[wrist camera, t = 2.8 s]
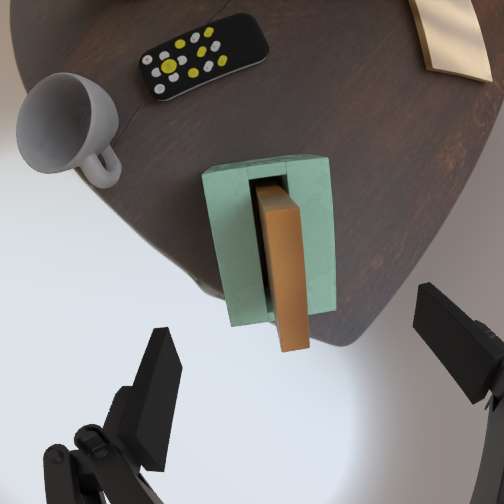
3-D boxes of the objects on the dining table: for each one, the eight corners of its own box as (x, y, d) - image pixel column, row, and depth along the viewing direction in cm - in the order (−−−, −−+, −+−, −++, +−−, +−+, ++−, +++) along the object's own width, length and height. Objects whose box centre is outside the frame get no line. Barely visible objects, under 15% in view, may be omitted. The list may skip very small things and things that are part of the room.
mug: (55, 122, 26) (3, 123, 17) (109, 71, 25) (65, 51, 16) (105, 200, 30) (61, 224, 21) (164, 152, 29) (134, 157, 20)
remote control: (272, 59, 26) (274, 54, 24) (158, 106, 27) (153, 104, 25) (249, 14, 24) (250, 7, 22) (138, 60, 25) (132, 56, 23)
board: (400, -21, 21) (405, -25, 19) (464, 0, 21) (469, -3, 19) (426, 70, 26) (432, 68, 24) (486, 82, 26) (492, 82, 24)
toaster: (234, 299, 35) (234, 340, 28) (210, 166, 30) (201, 174, 22) (317, 286, 35) (336, 323, 28) (306, 153, 29) (328, 157, 22)
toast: (266, 278, 31) (281, 353, 20) (253, 182, 27) (264, 211, 16) (285, 275, 31) (309, 348, 20) (274, 180, 27) (299, 206, 16)
